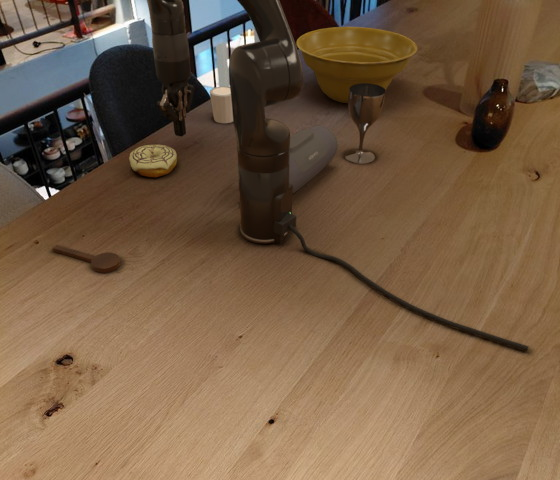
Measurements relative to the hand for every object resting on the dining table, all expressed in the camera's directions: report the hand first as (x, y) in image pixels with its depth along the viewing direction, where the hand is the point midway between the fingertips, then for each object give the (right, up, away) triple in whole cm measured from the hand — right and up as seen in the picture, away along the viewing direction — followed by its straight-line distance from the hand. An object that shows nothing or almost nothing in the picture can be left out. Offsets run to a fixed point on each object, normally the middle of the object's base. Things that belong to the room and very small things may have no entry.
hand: (180, 134), depth 134 cm
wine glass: (+42, -5, +1) cm, 43 cm away
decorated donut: (-5, -10, -4) cm, 12 cm away
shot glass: (+9, +10, +15) cm, 20 cm away
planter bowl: (+44, +23, +28) cm, 57 cm away
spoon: (-12, -35, -30) cm, 48 cm away
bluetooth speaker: (+27, -7, -16) cm, 32 cm away
